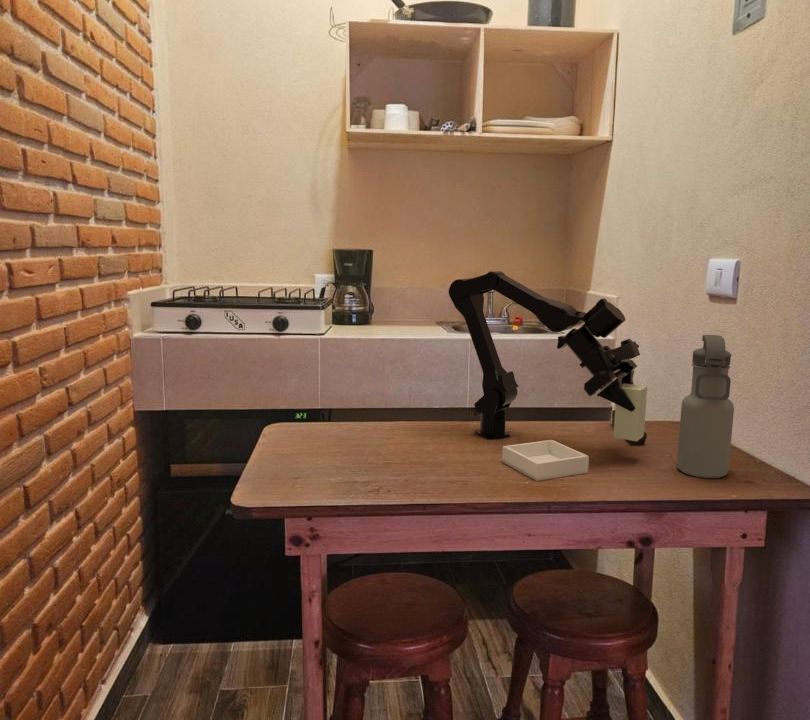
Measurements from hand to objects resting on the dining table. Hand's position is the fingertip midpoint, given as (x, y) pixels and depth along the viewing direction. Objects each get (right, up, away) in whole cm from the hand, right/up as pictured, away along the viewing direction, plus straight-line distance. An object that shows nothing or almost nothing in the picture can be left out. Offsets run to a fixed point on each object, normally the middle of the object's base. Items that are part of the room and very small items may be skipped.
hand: (637, 407), depth 142 cm
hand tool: (+4, -9, +22) cm, 25 cm away
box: (-20, -12, -2) cm, 24 cm away
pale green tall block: (-1, -6, +2) cm, 7 cm away
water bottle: (+12, -13, -4) cm, 18 cm away
